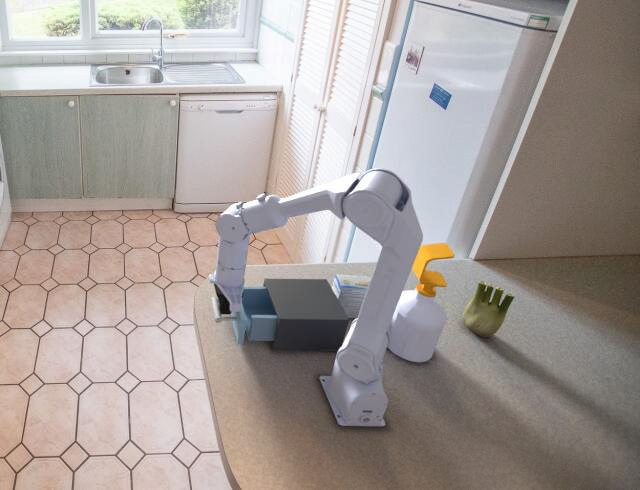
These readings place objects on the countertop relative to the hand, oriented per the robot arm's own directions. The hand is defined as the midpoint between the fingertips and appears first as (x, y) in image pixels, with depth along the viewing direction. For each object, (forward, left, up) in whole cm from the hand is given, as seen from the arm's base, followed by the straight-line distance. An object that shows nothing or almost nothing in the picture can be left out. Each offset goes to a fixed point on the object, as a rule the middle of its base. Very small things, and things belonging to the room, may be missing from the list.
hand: (225, 312), depth 95 cm
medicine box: (+5, -29, -5) cm, 30 cm away
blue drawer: (0, -6, -4) cm, 7 cm away
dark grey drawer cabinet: (0, -16, -4) cm, 17 cm away
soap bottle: (-4, -37, -5) cm, 38 cm away
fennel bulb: (0, -54, -5) cm, 54 cm away
